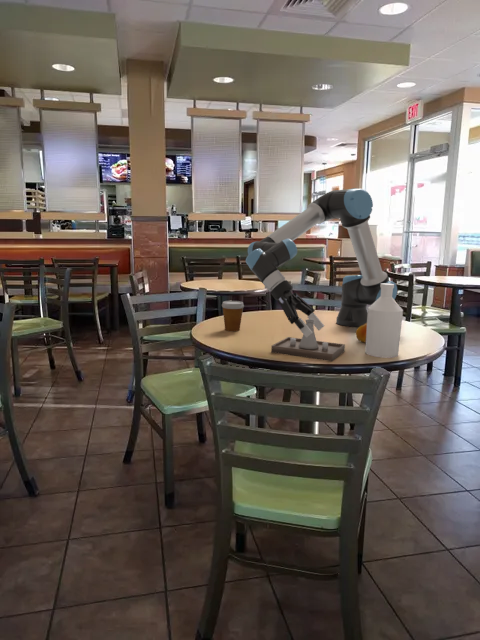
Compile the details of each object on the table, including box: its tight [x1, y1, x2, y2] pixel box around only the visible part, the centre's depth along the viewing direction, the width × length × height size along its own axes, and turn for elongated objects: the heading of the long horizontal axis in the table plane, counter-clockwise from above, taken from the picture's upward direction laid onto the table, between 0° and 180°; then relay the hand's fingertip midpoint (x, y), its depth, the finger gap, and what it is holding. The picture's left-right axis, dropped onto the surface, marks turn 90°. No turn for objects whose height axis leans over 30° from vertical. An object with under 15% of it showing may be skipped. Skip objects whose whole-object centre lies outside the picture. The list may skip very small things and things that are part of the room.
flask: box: [299, 318, 319, 349], centre depth 166 cm, size 7×7×10 cm
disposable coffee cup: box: [221, 300, 245, 332], centre depth 200 cm, size 10×10×12 cm
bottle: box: [364, 283, 404, 359], centre depth 165 cm, size 12×12×25 cm
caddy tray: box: [270, 336, 346, 362], centre depth 167 cm, size 16×22×4 cm
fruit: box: [355, 323, 367, 344], centre depth 183 cm, size 8×8×8 cm
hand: (315, 331), depth 165 cm, fingers open, 13 cm apart
